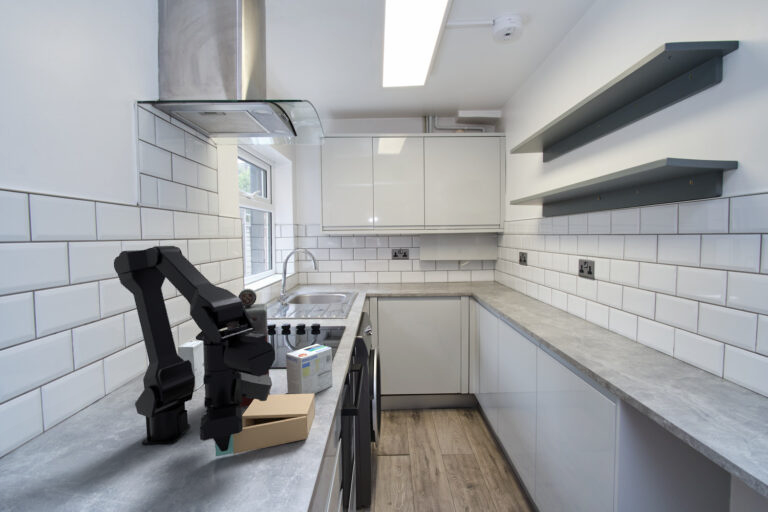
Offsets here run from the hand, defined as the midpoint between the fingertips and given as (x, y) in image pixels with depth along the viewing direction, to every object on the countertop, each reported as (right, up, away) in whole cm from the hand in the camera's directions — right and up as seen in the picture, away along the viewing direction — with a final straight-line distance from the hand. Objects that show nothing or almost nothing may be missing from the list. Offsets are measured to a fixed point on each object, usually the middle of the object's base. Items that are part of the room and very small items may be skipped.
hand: (224, 447), depth 63 cm
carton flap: (+6, -1, +3) cm, 7 cm away
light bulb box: (+10, -1, +28) cm, 30 cm away
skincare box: (-23, -1, +31) cm, 39 cm away
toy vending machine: (-4, -1, +23) cm, 23 cm away
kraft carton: (+7, -1, +10) cm, 13 cm away
